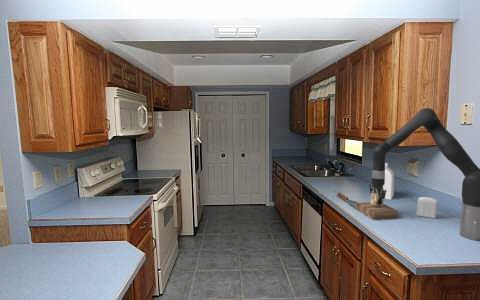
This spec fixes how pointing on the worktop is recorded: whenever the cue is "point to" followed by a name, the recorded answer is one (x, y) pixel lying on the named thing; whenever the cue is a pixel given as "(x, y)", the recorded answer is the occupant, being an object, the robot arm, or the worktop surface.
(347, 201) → the meat cleaver
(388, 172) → the milk
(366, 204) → the walnut base
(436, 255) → the worktop surface
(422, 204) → the photo printer
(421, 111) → the robot arm
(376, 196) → the beech block
